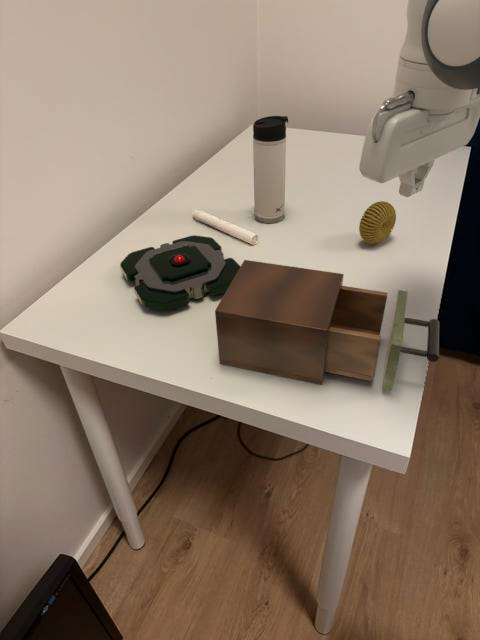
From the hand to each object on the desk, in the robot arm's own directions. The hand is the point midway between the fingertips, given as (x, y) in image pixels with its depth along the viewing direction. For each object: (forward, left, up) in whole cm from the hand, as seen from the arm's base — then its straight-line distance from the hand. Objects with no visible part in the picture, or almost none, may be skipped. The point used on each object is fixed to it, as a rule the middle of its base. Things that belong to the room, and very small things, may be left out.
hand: (410, 192), depth 66 cm
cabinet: (+14, +15, -19) cm, 28 cm away
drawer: (+2, +15, -18) cm, 23 cm away
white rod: (+34, -15, -19) cm, 42 cm away
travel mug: (+26, -23, -19) cm, 40 cm away
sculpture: (+4, -18, -19) cm, 27 cm away
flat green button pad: (+35, +3, -19) cm, 40 cm away
